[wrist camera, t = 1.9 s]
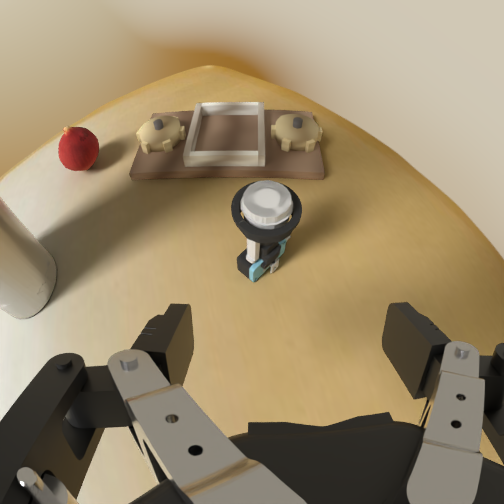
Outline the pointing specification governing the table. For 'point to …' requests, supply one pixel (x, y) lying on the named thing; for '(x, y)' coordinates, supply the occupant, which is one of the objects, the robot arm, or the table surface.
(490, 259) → the table surface
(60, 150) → the onion
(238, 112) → the gear board
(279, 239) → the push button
